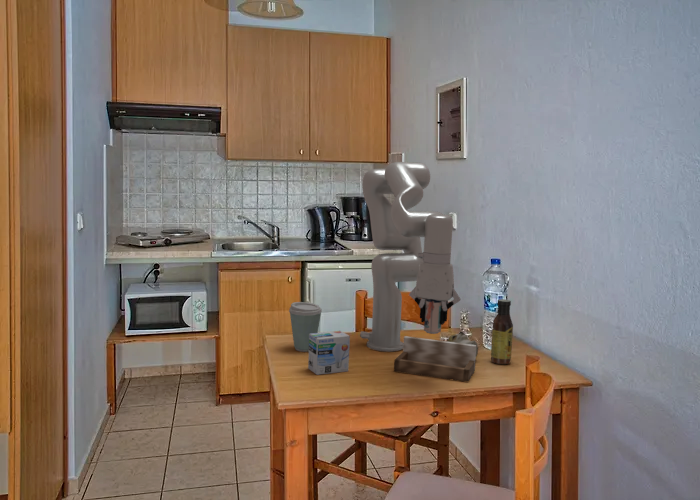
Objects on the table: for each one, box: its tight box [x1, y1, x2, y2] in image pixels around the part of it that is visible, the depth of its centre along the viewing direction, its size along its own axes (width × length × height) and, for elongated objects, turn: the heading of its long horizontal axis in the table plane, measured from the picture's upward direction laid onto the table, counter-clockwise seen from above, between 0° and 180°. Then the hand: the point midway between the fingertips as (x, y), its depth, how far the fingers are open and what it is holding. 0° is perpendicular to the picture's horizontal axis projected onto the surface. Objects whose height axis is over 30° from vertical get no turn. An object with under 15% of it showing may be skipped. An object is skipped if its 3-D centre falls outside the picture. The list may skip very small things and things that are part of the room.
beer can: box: [423, 299, 442, 335], centre depth 179 cm, size 5×5×12 cm
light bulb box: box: [307, 330, 351, 376], centre depth 186 cm, size 11×7×11 cm, turn 117°
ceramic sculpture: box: [447, 331, 479, 357], centre depth 204 cm, size 11×9×15 cm
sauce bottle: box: [490, 298, 514, 365], centre depth 199 cm, size 7×6×20 cm
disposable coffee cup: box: [288, 301, 323, 353], centre depth 206 cm, size 11×11×15 cm
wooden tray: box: [393, 335, 477, 382], centre depth 189 cm, size 22×11×8 cm, turn 70°
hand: (433, 321), depth 179 cm, fingers closed on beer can, 4 cm apart
